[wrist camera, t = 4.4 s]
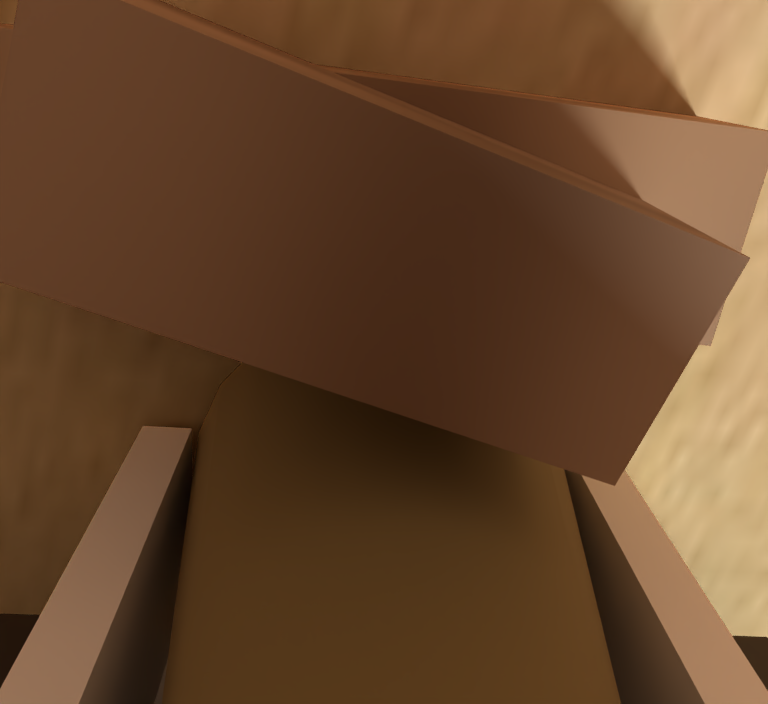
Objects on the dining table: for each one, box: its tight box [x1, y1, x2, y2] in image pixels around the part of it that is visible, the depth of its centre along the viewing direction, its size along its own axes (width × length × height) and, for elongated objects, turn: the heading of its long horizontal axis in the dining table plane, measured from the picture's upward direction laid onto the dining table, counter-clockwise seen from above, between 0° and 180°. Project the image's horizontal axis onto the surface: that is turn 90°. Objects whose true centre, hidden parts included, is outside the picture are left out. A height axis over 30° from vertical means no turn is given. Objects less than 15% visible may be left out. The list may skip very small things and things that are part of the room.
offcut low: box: [0, 24, 768, 346], centre depth 9 cm, size 9×3×2 cm, turn 82°
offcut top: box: [0, 0, 750, 486], centre depth 7 cm, size 6×2×2 cm, turn 69°
